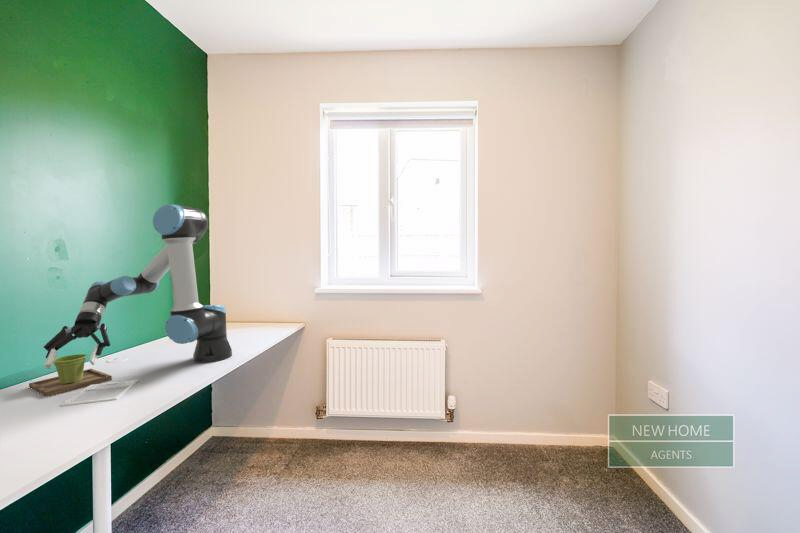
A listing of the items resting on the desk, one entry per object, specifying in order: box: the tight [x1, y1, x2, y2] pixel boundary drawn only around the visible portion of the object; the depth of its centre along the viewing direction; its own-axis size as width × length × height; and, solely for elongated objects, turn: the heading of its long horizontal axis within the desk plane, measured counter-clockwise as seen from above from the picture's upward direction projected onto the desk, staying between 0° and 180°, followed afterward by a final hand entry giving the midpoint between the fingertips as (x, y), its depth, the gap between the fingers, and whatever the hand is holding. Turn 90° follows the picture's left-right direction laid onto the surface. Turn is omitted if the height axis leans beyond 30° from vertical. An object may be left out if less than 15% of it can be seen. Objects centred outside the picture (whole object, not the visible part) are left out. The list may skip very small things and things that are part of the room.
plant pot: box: [52, 353, 88, 384], centre depth 136 cm, size 9×9×9 cm
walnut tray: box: [28, 368, 113, 398], centre depth 136 cm, size 18×18×2 cm
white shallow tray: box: [60, 379, 139, 407], centre depth 126 cm, size 15×1×18 cm
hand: (69, 364), depth 136 cm, fingers open, 13 cm apart
